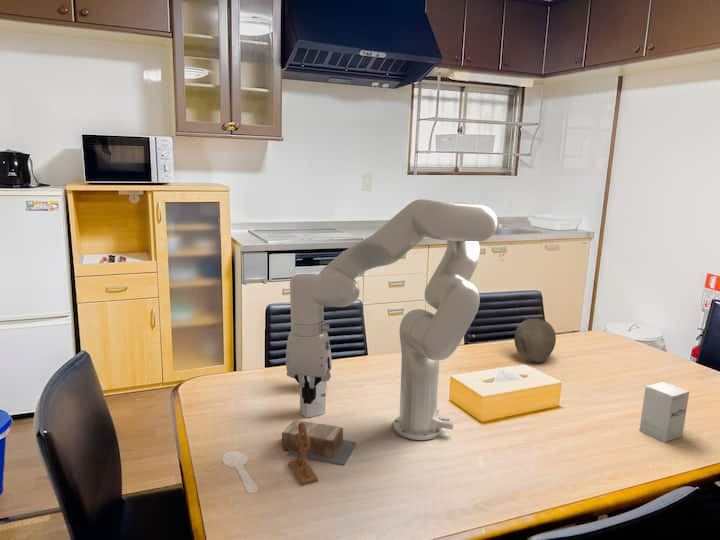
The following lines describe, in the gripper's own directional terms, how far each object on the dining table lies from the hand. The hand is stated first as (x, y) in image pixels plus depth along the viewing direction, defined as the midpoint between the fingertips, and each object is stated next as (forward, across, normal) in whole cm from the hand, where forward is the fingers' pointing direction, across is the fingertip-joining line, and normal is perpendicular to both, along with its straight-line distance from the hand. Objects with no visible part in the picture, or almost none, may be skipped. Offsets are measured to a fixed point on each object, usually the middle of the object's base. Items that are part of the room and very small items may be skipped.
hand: (309, 401), depth 124 cm
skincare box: (+12, +6, -16) cm, 21 cm away
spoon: (+12, +11, +14) cm, 21 cm away
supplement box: (+14, -84, -34) cm, 92 cm away
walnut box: (+9, +6, 0) cm, 11 cm away
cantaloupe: (+14, -54, -78) cm, 96 cm away
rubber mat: (+12, -3, 0) cm, 12 cm away
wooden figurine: (+12, -2, +11) cm, 16 cm away
